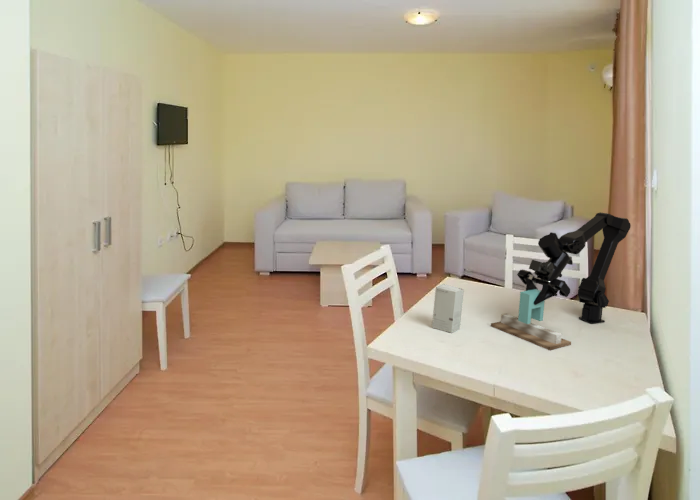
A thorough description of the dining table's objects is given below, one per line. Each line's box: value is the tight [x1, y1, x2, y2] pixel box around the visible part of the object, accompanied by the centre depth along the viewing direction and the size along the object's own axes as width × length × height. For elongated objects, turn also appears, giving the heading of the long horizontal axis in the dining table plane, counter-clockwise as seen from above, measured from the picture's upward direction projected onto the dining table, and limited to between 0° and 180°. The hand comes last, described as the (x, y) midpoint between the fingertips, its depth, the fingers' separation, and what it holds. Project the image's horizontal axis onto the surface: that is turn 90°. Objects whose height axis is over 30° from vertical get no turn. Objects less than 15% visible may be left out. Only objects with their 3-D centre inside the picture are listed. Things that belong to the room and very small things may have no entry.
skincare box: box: [431, 283, 465, 334], centre depth 203 cm, size 8×6×15 cm
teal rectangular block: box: [517, 288, 546, 324], centre depth 197 cm, size 7×4×10 cm, turn 121°
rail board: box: [490, 313, 572, 351], centre depth 199 cm, size 26×10×4 cm, turn 31°
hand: (529, 302), depth 196 cm, fingers closed on teal rectangular block, 4 cm apart
